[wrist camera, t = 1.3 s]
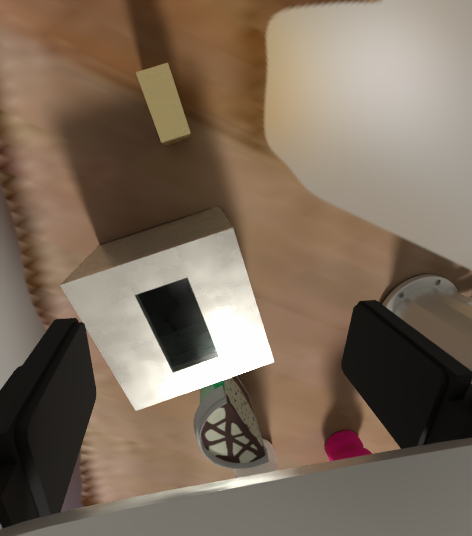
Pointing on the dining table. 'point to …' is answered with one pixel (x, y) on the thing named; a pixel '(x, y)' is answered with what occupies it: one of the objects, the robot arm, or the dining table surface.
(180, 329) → the box
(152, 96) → the beige rectangular block
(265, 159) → the dining table surface
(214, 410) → the half-round slice
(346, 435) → the pepper mill
